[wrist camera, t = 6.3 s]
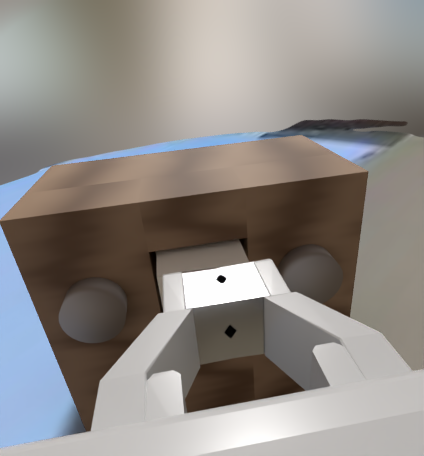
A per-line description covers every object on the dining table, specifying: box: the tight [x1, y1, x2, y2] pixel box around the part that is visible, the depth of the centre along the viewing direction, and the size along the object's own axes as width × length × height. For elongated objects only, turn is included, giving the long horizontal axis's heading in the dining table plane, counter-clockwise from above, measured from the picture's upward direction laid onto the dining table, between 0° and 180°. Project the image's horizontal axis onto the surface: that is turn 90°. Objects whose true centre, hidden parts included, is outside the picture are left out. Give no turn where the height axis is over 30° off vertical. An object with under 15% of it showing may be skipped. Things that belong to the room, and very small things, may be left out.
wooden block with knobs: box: [0, 135, 368, 432], centre depth 26 cm, size 20×12×18 cm, turn 98°
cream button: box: [157, 239, 249, 307], centre depth 21 cm, size 5×4×5 cm
